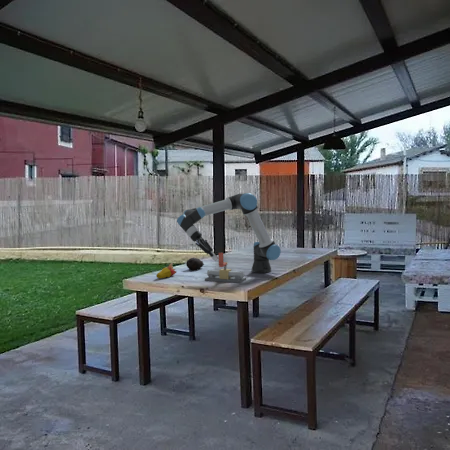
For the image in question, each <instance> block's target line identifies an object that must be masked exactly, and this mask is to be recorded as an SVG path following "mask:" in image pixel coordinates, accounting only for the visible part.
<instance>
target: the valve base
mask: <svg viewBox="0 0 450 450" xmlns="http://www.w3.org/2000/svg"><path fill="white" fill-rule="evenodd" d="M227 265H228V264H227ZM227 265H225V266H224V267H223V268H221V269H219V270H213V269H211V270H210V269H209V270H207V272H206V274H207V276H208V277H204V281H205V282H218V283H219V282H220V283H233V284H235V283H237V284H241V283H243V282H245V281H247V277H245V273H244V271H236V270H235V271H232V269H231V268H228V267H227Z"/></svg>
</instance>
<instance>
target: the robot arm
mask: <svg viewBox="0 0 450 450" xmlns="http://www.w3.org/2000/svg"><path fill="white" fill-rule="evenodd" d="M258 208H259V207H258V200H257V198H256V196H255V195H254V194H252V193H250V192H245V193H244V192H243V193H237V194H234V195H232V196H228V197H226V198H225V199H223V200H219V201H216V202H212V203H209V204H205V205H201V206H197V207H195V208H190V209H189V208H188V209H186V210H185V209H184V211H183V213H182V214H181V215H179V216H178V218H177V219H176V222H177V225H179V227H180V228H181V229H182V230H183V231H184V232H185V234H186V235H187V236H188V237H189V238H190V240H191V241H192V242H193V243H194V242H195V245H196V246H198V247H199V248H200V249H201V250H202V251H203V252H204V253H205V254H206V255H209V256H210V257H211V259H212V260H213V261H214V262H216V261H218V260H219V256H217V255H216V254H215V253H214V252H213V251H214V249H213V248H212V246H211V245H210V243H209V242H208V240H207V239H204V238H203V237H202V234H203V233H201V232H200V231H199V229H198V228H197V226H196V225H195V224H196V223H198V222H200V221H201V220H202V219H203V218H205V217H207V216H210V215H215V214H217V213H220V212H224V211H232V210H233V211H234V210H241V212H242V214H243V216H244V215H245V216H246V218H247V220H248V222H249V224H250V227H251V228H252V230H253V233H254V235H255V236H256V238H257V240H258V241H255V242H254V243H253V246H252V247H253V262H252V266H251V272H252V273H263V274H264V273H265V274H266V273H271V272H272V266H271V263H270V261H276V260H277V259H279V258H280V256H281V254H282V253H281V252H282V251H281V248H280V246H279V245H278V244H276V242H275V240H274V238H271V237H270V234H269V233H268V231H267V228H266V226H265V224H264V222H263V221H262V219H261V218H262V217H261V216H260V214H259V212H258Z"/></svg>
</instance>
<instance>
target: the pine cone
mask: <svg viewBox="0 0 450 450" xmlns="http://www.w3.org/2000/svg"><path fill="white" fill-rule="evenodd" d="M185 265H186V267H187V268H188V271H191V272H192V271H194V272H196V271H199V270H202V269H203V268H202V267H204V265H205V264H204V261H203V260H201V259H199V258H197V257H190V258H189V259H187V260H186V264H185Z"/></svg>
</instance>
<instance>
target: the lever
mask: <svg viewBox="0 0 450 450" xmlns="http://www.w3.org/2000/svg"><path fill="white" fill-rule="evenodd" d="M228 263H229V262H227V261H224V252H218V267H219V268H224V266H225V265H228Z"/></svg>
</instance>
